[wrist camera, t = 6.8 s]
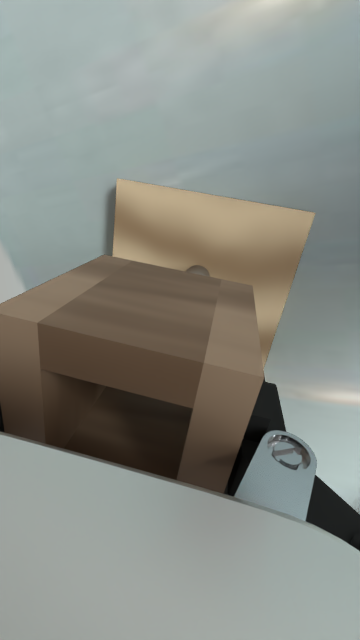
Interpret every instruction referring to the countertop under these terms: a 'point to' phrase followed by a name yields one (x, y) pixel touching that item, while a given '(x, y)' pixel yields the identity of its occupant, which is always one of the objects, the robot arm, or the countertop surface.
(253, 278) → the board
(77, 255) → the countertop surface
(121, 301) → the brown hollow cube
